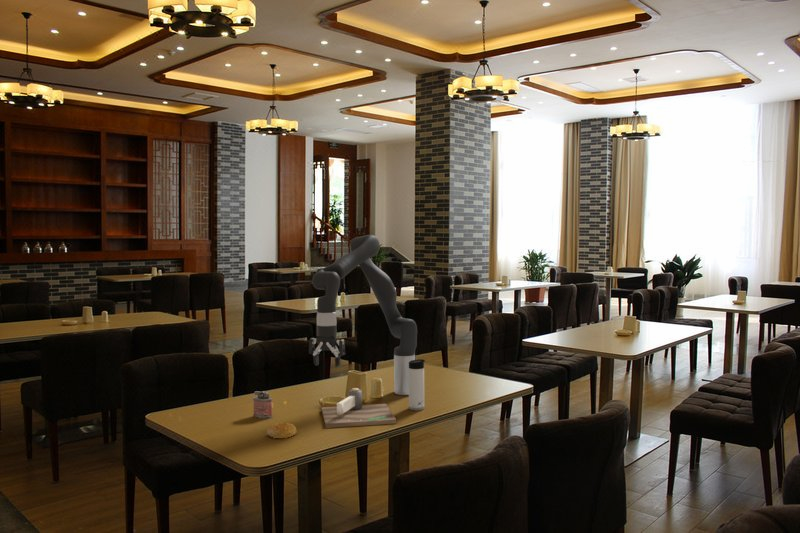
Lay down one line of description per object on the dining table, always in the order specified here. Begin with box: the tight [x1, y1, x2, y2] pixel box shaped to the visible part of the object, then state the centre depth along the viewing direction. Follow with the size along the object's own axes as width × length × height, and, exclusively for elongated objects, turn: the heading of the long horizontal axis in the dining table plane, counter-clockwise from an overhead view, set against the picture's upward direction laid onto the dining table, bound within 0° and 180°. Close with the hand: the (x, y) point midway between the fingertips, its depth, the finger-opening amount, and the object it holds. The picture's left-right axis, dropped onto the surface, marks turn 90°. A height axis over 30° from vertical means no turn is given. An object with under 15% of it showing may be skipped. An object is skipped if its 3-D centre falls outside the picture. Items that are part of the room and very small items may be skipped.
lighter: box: [252, 390, 273, 420], centre depth 253 cm, size 8×3×10 cm, turn 71°
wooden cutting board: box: [321, 403, 397, 429], centre depth 252 cm, size 23×26×2 cm
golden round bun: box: [266, 421, 298, 439], centre depth 231 cm, size 10×11×5 cm
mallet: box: [336, 387, 363, 415], centre depth 253 cm, size 18×5×8 cm, turn 161°
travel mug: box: [408, 358, 426, 411], centre depth 263 cm, size 6×7×20 cm
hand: (327, 366), depth 249 cm, fingers open, 8 cm apart
